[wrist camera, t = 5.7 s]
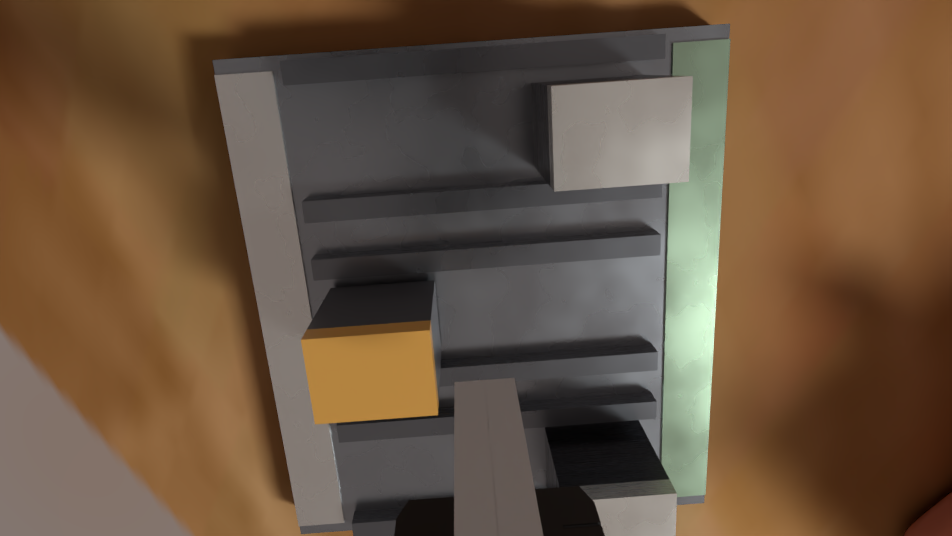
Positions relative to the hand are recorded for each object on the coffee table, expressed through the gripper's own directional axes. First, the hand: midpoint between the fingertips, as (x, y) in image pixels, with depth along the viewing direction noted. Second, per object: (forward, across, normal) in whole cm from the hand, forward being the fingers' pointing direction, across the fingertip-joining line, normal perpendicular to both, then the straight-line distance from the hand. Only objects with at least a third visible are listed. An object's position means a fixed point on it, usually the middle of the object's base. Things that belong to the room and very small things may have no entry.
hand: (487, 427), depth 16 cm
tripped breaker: (+9, -4, -1) cm, 9 cm away
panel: (+11, 0, -1) cm, 11 cm away
